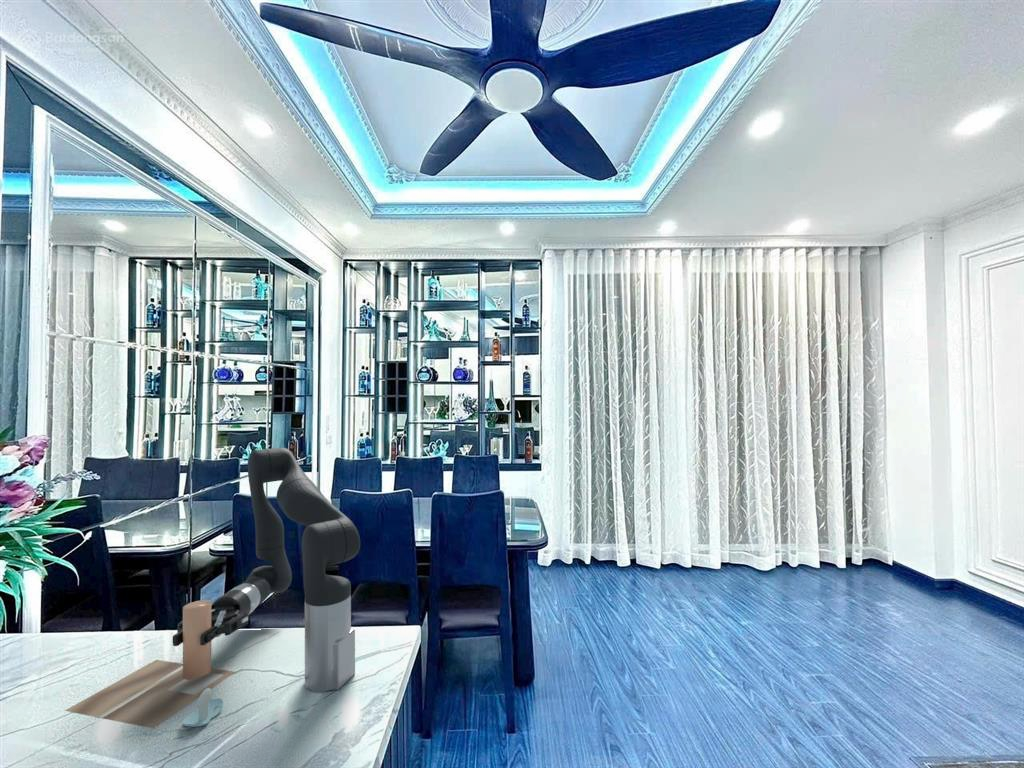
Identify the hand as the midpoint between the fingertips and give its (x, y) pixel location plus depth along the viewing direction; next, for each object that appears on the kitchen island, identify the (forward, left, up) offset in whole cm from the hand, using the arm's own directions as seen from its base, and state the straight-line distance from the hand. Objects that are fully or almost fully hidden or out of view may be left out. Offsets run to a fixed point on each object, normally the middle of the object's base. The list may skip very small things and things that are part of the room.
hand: (188, 640), depth 95 cm
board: (+7, +1, -11) cm, 13 cm away
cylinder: (+1, -3, -8) cm, 8 cm away
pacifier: (-10, +6, -11) cm, 16 cm away
